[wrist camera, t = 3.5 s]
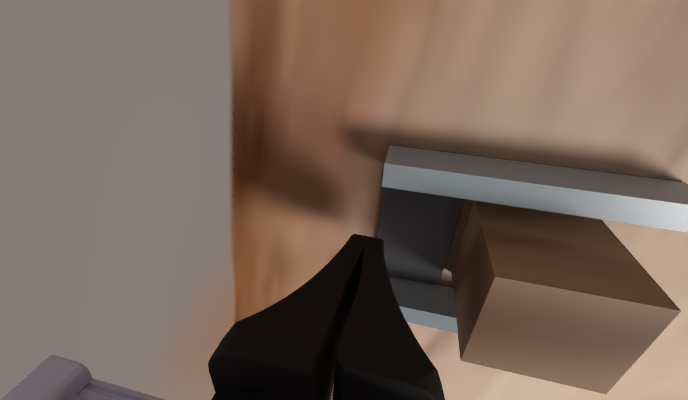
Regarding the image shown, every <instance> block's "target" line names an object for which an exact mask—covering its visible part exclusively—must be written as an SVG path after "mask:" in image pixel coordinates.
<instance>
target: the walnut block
mask: <svg viewBox="0 0 688 400" xmlns="http://www.w3.org/2000/svg"><path fill="white" fill-rule="evenodd" d="M452 281H453V291H454V300H455V310H456V320H457V329H458V339H459V349H460V358H461V361H465V362H470V363H474V364H478V365H482V366H487V367H491V368H495V369H500V370H504V371H508V372H513V373H517V374H521V375H526V376H530V377H534V378H539V379H543V380H547V381H552V382H556V383H560V384H565V385H569V386H573V387H578V388H582V389H586V390H590V391H595V392H599V393H603V394H607V393H608V391H609V390H610V389H611V388H612V387H613V386H614V385H615V384H616V383H617V382H618V380H619V379H620V378H621V377H622V376H623V375H624V374H625V373H626V372H627V370H628V369H629V368H630V367H631V366H632V365H633V364H634V363H635V362H636V360H637V359H638V358H639V357H640V356H641V355H642V354H643V353H644V352H645V350H646V349H647V348H648V347H649V346H650V345H651V344H652V343H653V342H654V341H655V339H656V338H657V337H658V336H659V335H660V334H661V333H662V332H663V331H664V329H665V328H666V327H667V326H668V325H669V324H670V323H671V322H672V321H673V319H674V318H675V317H676V316H677V315H678V314H679V313H680V312H681V310H680V309H679V308H678V307H677V306H676V305H675V304H674V302H673V301H672V300H671V299H670V298H669V297H668V295H667V294H666V293H665V292H664V291H663V290H662V289H661V287H660V286H659V285H658V284H657V283H656V282H655V281H654V279H653V278H652V277H651V276H650V275H649V274H648V273H647V271H646V270H645V269H644V268H643V267H642V266H641V265H640V263H639V262H638V261H637V260H636V259H635V258H634V257H633V255H632V254H631V253H630V252H629V251H628V250H627V249H626V247H625V246H624V245H623V244H622V243H621V242H620V241H619V239H618V238H617V237H616V236H615V235H614V234H613V233H612V231H611V230H610V229H609V228H608V227H607V226H606V225H605V223H604V222H603V221H602V220H601V219H595V218H589V217H582V216H575V215H569V214H562V213H555V212H548V211H542V210H535V209H528V208H522V207H515V206H508V205H502V204H495V203H488V202H481V201H475V200H474V201H473V204H472V207H471V210H470V214H469V217H468V220H467V223H466V227H465V230H464V233H463V236H462V240H461V243H460V246H459V249H458V253H457V256H456V259H455V262H454V266H453V269H452Z"/></svg>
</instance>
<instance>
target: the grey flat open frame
mask: <svg viewBox="0 0 688 400" xmlns="http://www.w3.org/2000/svg"><path fill="white" fill-rule="evenodd" d="M382 187H384V190H383V198H382V205H381V213H380V220H379V228H378V235H377V238H380V239H382V240H383V241H384V257H385V263H386V268H387V272H388V276H389V279H390V283H391V286H392V289H393V292H394V295H395V297H396V300H397V302H398V305H399V307H400V309H401V311H402V314H403V316H404V318H405V320H406V322H410V323H414V324H419V325H424V326H428V327H433V328H437V329H442V330H446V331H451V332H456V333H458V329H457V320H456V310H455V300H454V291H453V287H448V286H443V285H438V284H439V281H440V278H441V274H442V271H443V267H444V264H445V261H446V257H447V254H448V250H449V247H450V243H451V240H452V236H453V233H454V229H455V226H456V222H457V219H458V215H459V212H460V208H461V205H462V202H463V199H468V200H475V201H481V202H488V203H495V204H502V205H508V206H515V207H522V208H528V209H535V210H542V211H548V212H555V213H562V214H569V215H575V216H582V217H589V218H595V219H602V220H609V221H616V222H622V223H629V224H636V225H642V226H649V227H656V228H662V229H669V230H676V231H683V232H688V184H687V183H685V182H678V181H670V180H662V179H654V178H647V177H639V176H631V175H623V174H615V173H607V172H599V171H591V170H583V169H575V168H568V167H560V166H552V165H544V164H536V163H528V162H520V161H512V160H504V159H496V158H489V157H481V156H473V155H465V154H457V153H449V152H441V151H433V150H425V149H417V148H409V147H402V146H394V145H390V146H389V149H388V153H387V156H386V160H385V163H384V171H383V179H382ZM397 276H398V277H397ZM402 277H403V278H402ZM407 278H408V279H407ZM412 279H413V280H412ZM417 280H418V281H417ZM422 281H423V282H422ZM427 282H428V283H427Z"/></svg>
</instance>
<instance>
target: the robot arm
mask: <svg viewBox="0 0 688 400" xmlns="http://www.w3.org/2000/svg"><path fill="white" fill-rule="evenodd" d="M208 367H209V373H210V376H211V379H212V382H213V385H214V389H215V392H216V393H215V394H214V396H213V398H212V400H330V397H331V392H332V388H333V383H334V390H333V400H445V398H444V393H443V389H442V385H441V381H440V378H439V375H438V371H437V370H436V368H435V367H434V365H433V364H432V363H431V361H430V360H429V358H428V357H427V355H426V354H425V352H424V351H423V349H422V348H421V346H420V345H419V343H418V341H417V340H416V338H415V336H414V335H413V333H412V331H411V329H410V327H409V325H408V324H407V322H406V320H405V318H404V316H403V314H402V311H401V309H400V307H399V305H398V302H397V300H396V297H395V295H394V292H393V289H392V286H391V283H390V279H389V276H388V272H387V268H386V263H385V257H384V241H383V240H382V239H380V238H374V237H368V236H362V235H357V234H353V235H352V236H351V237H350V238H349V240H348V241H347V242H346V244H345V245H344V246H343V247H342V249H341V250H340V251H339V252H338V253H337V254H336V255H335V257H334V258H333V259H332V260H331V261H330V262H329V263H328V264H327V265H326V266H325V267H324V268H323V269H322V270H320V271H319V272H318V273H317V274H316V275H315V276H314V277H313V278H311V279H310V280H309V281H308V282H306V283H305V284H304V285H303V286H301V287H300V288H299V289H297V290H296V291H294V292H293V293H291V294H290V295H288V296H287V297H285V298H284V299H282V300H280V301H279V302H277V303H275V304H273V305H272V306H270V307H268V308H266V309H264V310H262V311H260V312H259V313H256V314H254V315H252V316H250V317H247V318H245V319H243V320H240V321H238V322H236V323H235V324H234V325H233V327H232V328H231V329H230V331H229V332H228V333H227V334H226V335H225V337H224V338H223V339H222V341H221V342H220V344H219V346H218V347H217V349H216V350H215V352H214V353H213V355H212V357H211V358H210V361H209V363H208ZM1 400H164V399H161V398H158V397H154V396H151V395H148V394H144V393H141V392H137V391H134V390H131V389H127V388H124V387H120V386H117V385H113V384H110V383H107V382H104V381H100V380H96V379H93V378H92V376H91V374H90V372H89V370H88V369H87V368H86V367H85V366H84V365H82V364H81V363H79V362H76V361H72V360H69V359H66V358H62V357H59V356H55V355H51V356H49V357H48V358H47V359H46V360H45V361H43V362H42V363H41V364H40V365H39V366H38V367H37V368H36V369H35V370H33V371H32V372H31V373H30V374H29V375H28V376H27V377H26V378H25V379H24V380H22V381H21V382H20V383H19V384H18V385H17V386H16V387H14V388H13V389H12V390H11V391H10V392H9V393H8V394H7V395H6V396H5V397H3V398H2V399H1Z"/></svg>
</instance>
